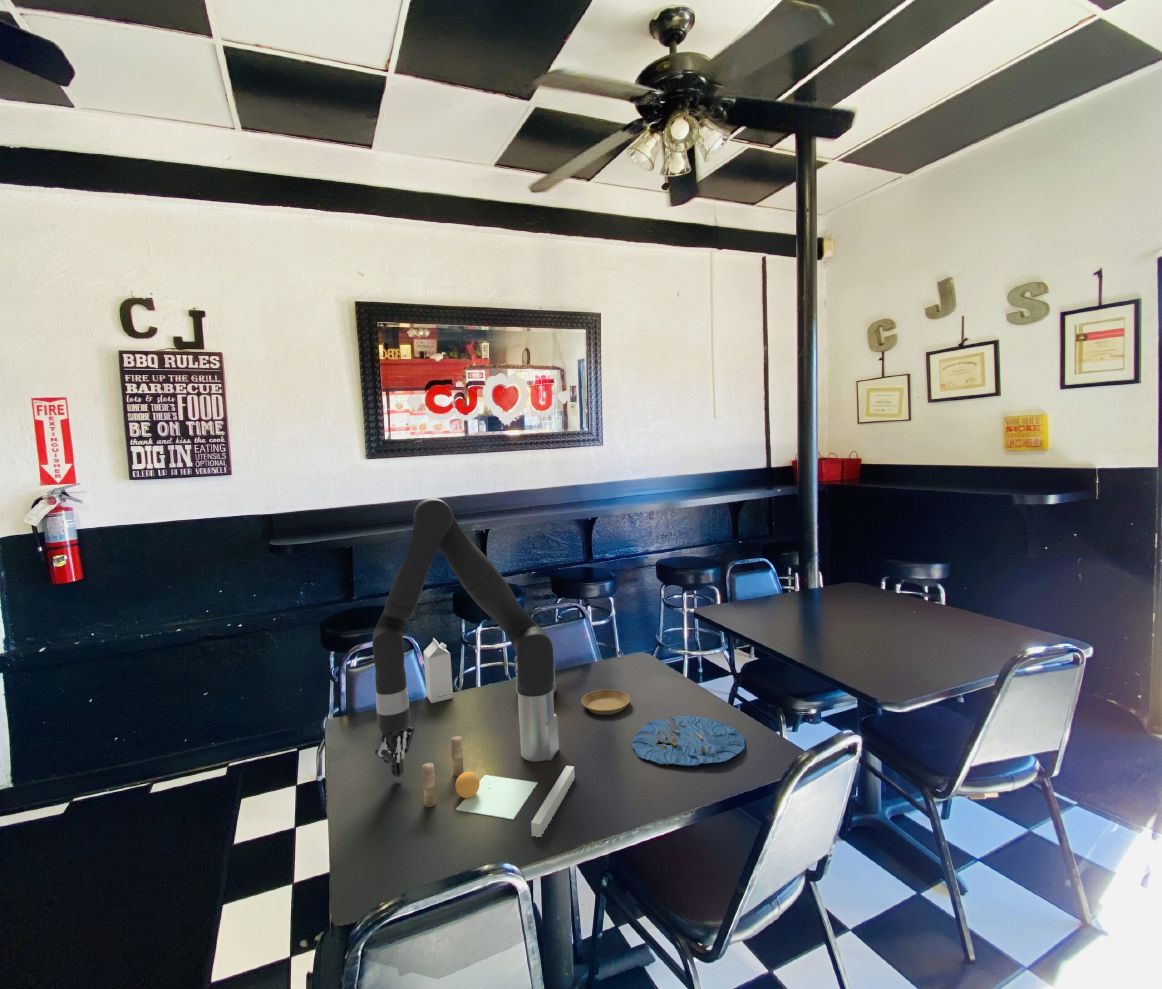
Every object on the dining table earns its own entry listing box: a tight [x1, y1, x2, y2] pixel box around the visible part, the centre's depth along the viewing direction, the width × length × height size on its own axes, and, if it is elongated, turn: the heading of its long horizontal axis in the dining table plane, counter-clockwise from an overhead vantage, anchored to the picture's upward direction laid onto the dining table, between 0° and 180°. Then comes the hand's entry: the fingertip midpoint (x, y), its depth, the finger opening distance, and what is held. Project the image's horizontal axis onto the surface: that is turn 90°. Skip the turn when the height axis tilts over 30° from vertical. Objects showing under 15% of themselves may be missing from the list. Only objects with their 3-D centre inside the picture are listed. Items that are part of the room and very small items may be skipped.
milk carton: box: [423, 637, 454, 704], centre depth 190 cm, size 7×7×19 cm
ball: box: [454, 771, 480, 799], centre depth 135 cm, size 6×6×6 cm
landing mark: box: [455, 774, 539, 821], centre depth 135 cm, size 14×14×1 cm
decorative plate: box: [631, 715, 746, 767], centre depth 155 cm, size 30×30×5 cm
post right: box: [450, 735, 465, 777], centre depth 145 cm, size 3×3×9 cm
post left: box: [421, 762, 437, 808], centre depth 133 cm, size 3×3×9 cm
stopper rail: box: [530, 765, 576, 838], centre depth 131 cm, size 2×22×3 cm, turn 162°
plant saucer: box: [581, 689, 631, 716], centre depth 179 cm, size 15×15×3 cm
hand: (398, 774), depth 143 cm, fingers closed
